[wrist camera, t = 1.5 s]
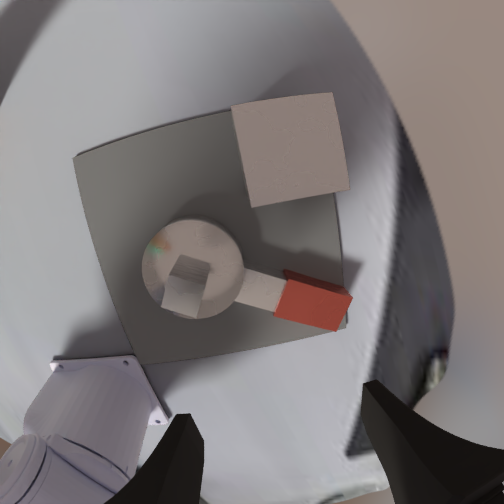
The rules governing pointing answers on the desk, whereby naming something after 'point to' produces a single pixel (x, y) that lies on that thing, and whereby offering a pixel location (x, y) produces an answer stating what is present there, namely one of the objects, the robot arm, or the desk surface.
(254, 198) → the pale grey cube
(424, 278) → the desk surface
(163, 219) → the mat
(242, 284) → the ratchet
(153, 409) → the robot arm
